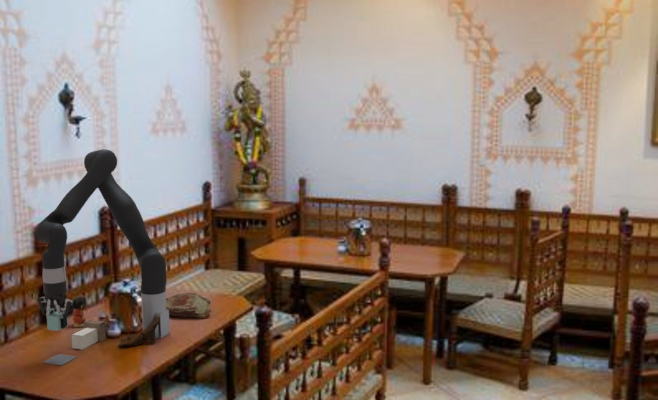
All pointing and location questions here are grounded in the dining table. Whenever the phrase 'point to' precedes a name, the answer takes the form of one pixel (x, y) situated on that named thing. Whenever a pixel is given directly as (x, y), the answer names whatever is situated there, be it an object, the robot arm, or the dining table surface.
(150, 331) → the dark brown curved piece
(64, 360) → the pad
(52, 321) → the pale teal block
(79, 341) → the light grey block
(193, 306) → the stone
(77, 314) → the figurine
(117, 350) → the dining table surface
